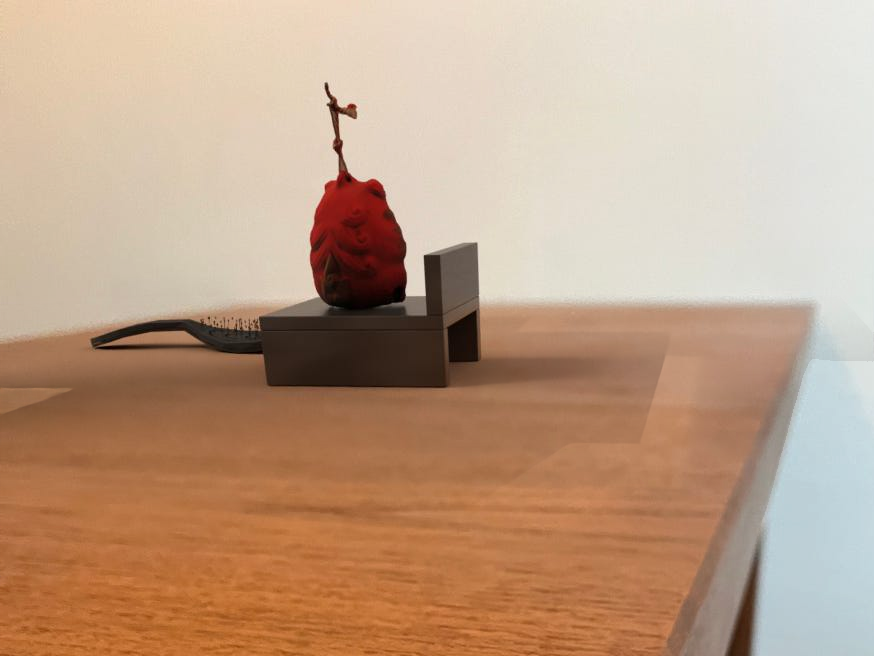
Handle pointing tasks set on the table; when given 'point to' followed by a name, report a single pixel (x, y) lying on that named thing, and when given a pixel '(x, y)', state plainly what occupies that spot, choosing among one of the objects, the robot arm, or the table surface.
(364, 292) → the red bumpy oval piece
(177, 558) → the table surface
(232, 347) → the hairbrush
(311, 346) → the brown miniature bench
